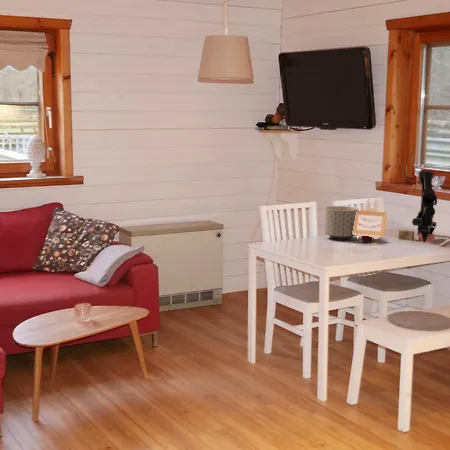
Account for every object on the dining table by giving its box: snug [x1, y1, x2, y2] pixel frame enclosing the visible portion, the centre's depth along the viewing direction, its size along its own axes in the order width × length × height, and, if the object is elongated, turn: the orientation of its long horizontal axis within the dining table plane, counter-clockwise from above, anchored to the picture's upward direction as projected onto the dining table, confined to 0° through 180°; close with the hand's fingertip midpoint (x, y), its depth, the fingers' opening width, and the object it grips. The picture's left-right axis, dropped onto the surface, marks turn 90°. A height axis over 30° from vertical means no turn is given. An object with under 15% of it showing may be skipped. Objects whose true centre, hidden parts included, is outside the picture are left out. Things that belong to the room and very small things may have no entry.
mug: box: [361, 236, 373, 244], centre depth 433 cm, size 10×8×10 cm
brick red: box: [417, 233, 436, 243], centre depth 436 cm, size 8×4×5 cm, turn 57°
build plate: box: [393, 236, 419, 243], centre depth 439 cm, size 12×12×1 cm
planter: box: [324, 205, 359, 241], centre depth 443 cm, size 19×19×18 cm
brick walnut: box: [397, 229, 415, 241], centre depth 439 cm, size 8×4×5 cm, turn 60°
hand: (426, 240), depth 437 cm, fingers open, 8 cm apart
